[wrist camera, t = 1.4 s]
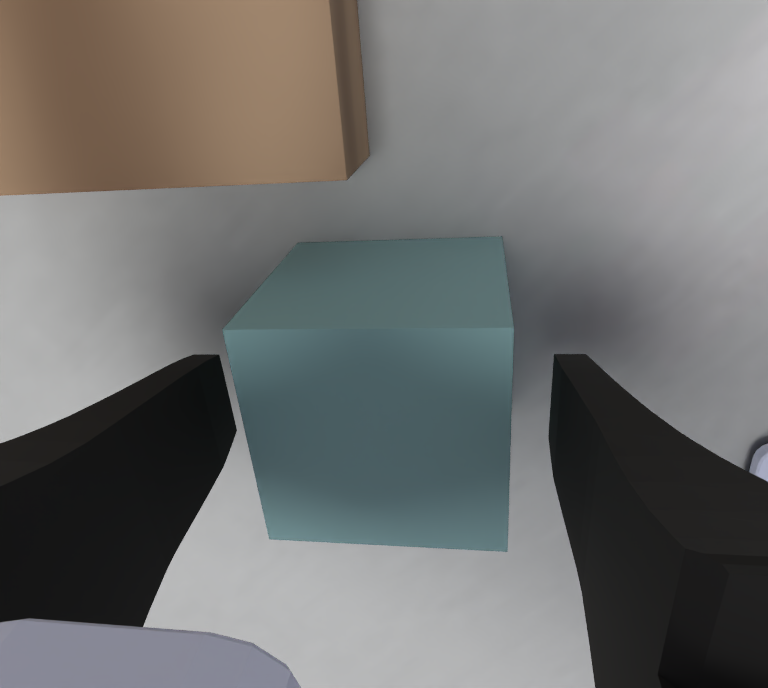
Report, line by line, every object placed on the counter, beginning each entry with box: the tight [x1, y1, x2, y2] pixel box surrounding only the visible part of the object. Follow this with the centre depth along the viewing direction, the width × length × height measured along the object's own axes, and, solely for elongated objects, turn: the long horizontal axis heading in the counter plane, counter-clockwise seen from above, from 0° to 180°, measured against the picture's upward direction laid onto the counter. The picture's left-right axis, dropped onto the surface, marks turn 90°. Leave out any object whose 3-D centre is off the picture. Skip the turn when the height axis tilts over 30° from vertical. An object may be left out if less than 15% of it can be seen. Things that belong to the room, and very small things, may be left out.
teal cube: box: [222, 236, 514, 552], centre depth 13 cm, size 5×5×5 cm
